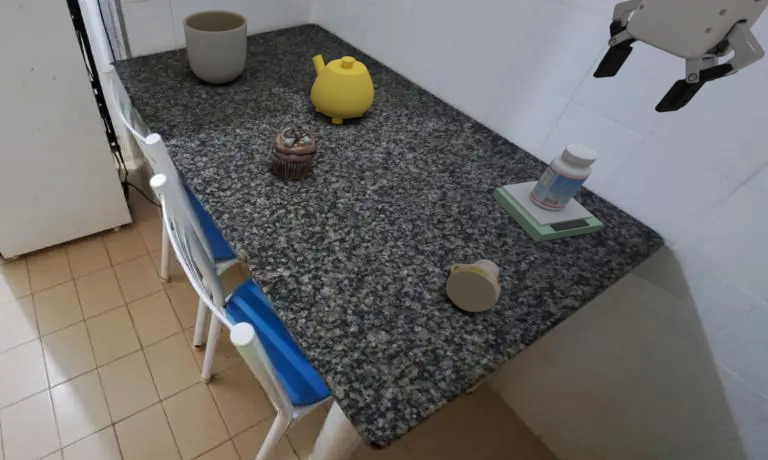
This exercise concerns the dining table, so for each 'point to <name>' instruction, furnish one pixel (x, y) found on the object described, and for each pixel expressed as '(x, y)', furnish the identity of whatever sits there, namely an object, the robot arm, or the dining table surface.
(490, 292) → the white floral pitcher
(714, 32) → the robot arm
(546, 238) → the scale
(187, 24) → the planter
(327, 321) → the dining table surface
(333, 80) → the teapot
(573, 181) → the pill bottle
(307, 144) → the cupcake
